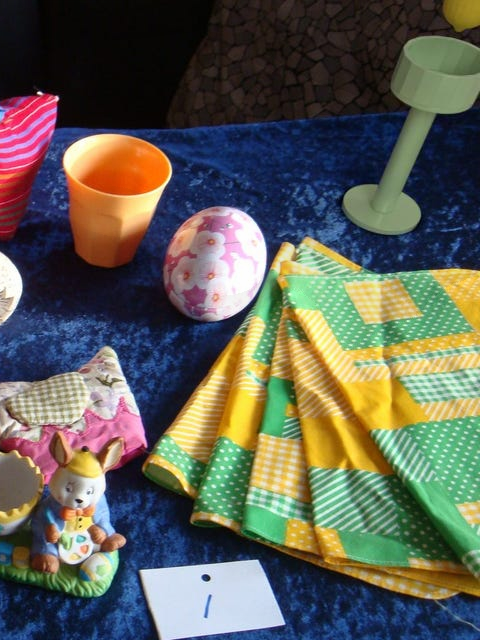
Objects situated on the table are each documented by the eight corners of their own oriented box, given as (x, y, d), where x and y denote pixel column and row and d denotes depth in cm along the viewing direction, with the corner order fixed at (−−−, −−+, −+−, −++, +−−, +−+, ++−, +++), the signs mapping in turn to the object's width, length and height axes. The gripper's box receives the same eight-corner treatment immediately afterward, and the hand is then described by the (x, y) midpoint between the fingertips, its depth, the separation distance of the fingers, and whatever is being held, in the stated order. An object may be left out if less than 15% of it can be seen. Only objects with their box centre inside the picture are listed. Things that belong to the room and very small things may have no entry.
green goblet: (428, 208, 114) (504, 52, 97) (403, 246, 108) (479, 87, 92) (357, 181, 118) (418, 26, 101) (329, 216, 112) (389, 59, 96)
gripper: (445, -190, 80) (379, -3, 94) (643, -152, 73) (541, 44, 87) (468, -207, 84) (402, -25, 98) (658, -173, 77) (559, 17, 91)
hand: (468, 5), depth 92 cm, fingers closed on lemon, 5 cm apart
